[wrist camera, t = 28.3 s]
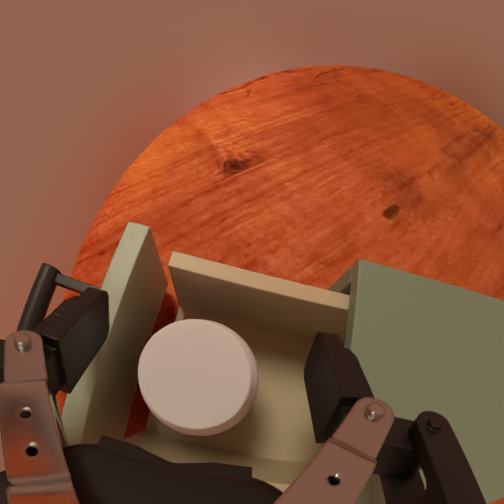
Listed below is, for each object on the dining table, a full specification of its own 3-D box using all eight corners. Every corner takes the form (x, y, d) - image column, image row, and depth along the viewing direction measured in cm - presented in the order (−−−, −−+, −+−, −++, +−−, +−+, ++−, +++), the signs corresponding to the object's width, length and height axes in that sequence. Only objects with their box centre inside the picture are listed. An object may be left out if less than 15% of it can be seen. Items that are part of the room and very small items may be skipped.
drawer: (39, 401, 16) (-30, 394, 9) (86, 258, 21) (44, 199, 14) (320, 481, 16) (375, 515, 9) (349, 327, 22) (409, 292, 15)
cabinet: (266, 481, 17) (308, 536, 8) (302, 313, 23) (359, 258, 14) (441, 478, 17) (524, 488, 8) (458, 343, 23) (538, 311, 14)
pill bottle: (198, 324, 19) (191, 270, 11) (262, 377, 18) (302, 362, 10) (142, 383, 17) (91, 372, 9) (207, 439, 16) (205, 475, 8)
